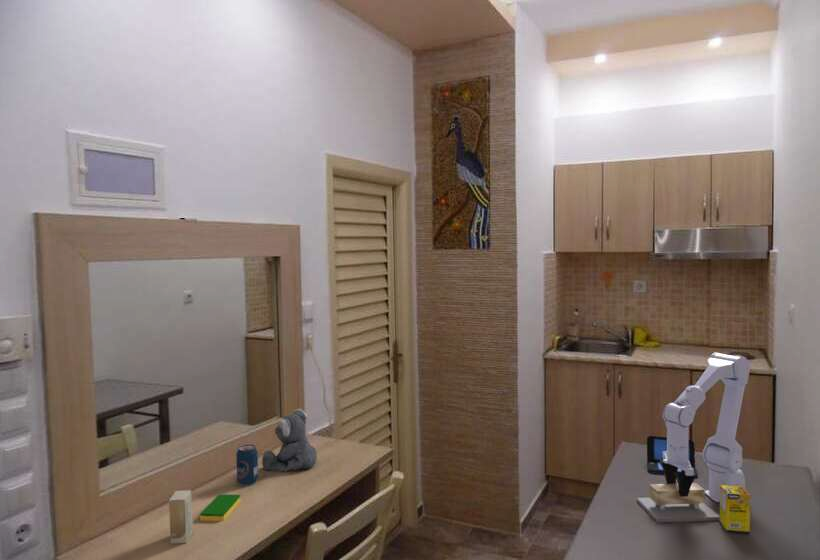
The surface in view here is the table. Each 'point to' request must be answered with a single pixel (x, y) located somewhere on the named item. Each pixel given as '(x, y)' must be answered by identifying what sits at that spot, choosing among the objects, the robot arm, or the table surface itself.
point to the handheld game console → (656, 454)
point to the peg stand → (678, 511)
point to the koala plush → (291, 445)
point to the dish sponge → (220, 508)
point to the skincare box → (180, 516)
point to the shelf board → (676, 494)
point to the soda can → (247, 465)
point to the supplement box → (735, 509)
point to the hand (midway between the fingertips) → (677, 490)
